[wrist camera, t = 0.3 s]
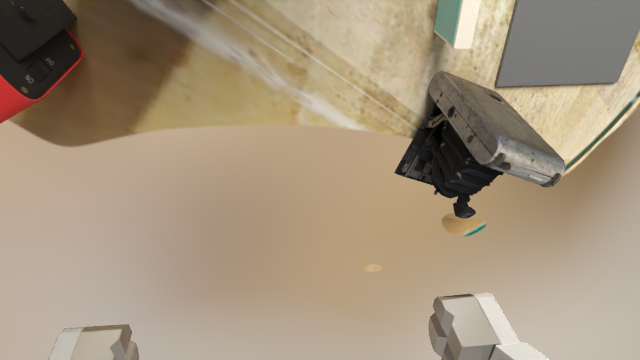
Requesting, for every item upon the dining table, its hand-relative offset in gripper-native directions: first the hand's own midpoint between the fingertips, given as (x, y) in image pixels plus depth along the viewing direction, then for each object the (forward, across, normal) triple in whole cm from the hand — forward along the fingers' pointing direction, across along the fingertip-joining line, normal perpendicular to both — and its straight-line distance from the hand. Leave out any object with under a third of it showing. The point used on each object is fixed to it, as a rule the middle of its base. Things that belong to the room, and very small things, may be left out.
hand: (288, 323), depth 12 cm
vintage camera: (+47, -24, +19) cm, 56 cm away
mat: (+46, -40, +2) cm, 61 cm away
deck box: (+47, -22, +2) cm, 52 cm away
